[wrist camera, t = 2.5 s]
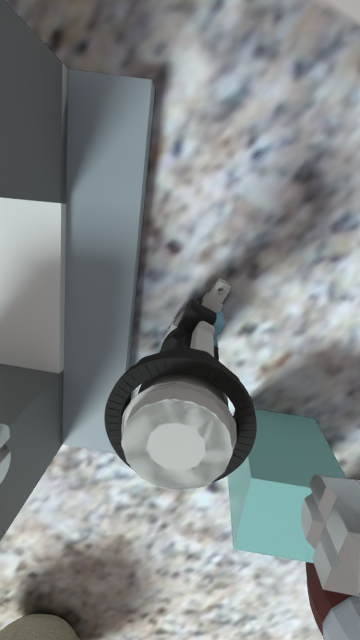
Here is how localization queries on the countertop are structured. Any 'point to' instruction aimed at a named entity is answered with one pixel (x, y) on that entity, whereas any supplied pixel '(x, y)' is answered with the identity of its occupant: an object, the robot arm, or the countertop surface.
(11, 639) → the fruit
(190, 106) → the countertop surface
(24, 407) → the gray block stand
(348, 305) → the countertop surface
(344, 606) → the mate gourd
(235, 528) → the block
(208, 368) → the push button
